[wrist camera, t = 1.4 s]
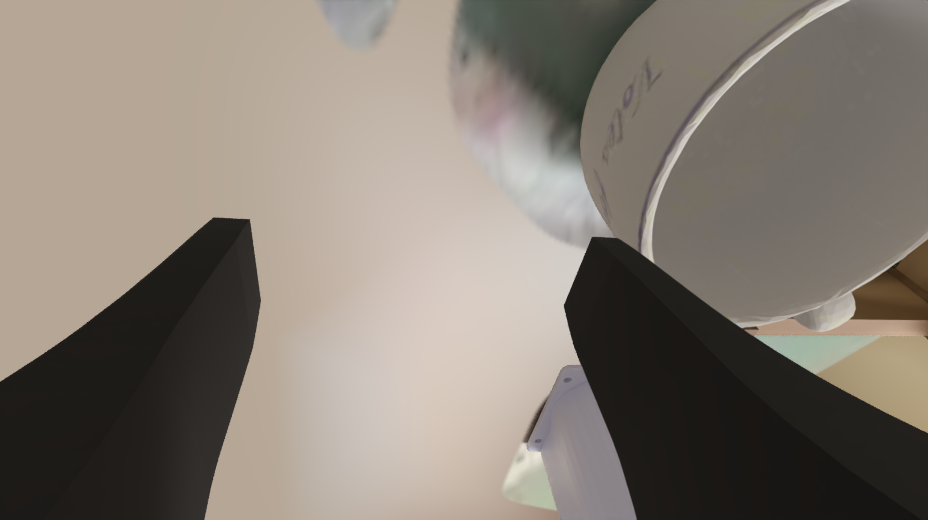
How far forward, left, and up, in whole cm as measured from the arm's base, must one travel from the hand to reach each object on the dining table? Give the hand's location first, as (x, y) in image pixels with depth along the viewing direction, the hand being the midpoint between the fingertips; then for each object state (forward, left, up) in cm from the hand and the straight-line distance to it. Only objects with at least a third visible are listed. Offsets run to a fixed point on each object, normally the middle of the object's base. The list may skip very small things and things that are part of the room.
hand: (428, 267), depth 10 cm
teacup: (0, -12, -10) cm, 16 cm away
